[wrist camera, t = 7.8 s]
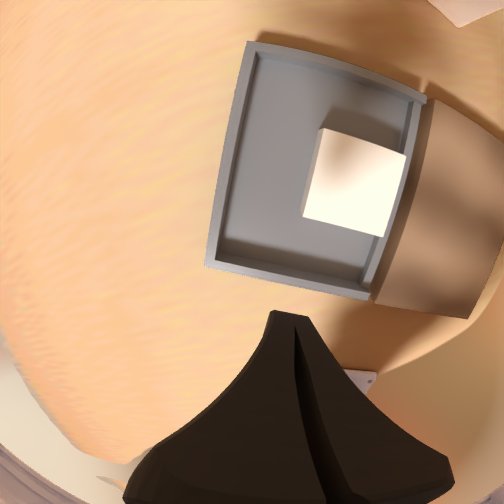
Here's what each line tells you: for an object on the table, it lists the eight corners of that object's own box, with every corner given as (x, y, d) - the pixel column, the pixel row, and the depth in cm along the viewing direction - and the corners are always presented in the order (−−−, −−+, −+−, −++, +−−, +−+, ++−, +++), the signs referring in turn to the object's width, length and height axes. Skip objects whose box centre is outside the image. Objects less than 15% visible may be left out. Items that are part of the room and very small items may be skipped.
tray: (361, 287, 19) (367, 300, 17) (210, 255, 19) (203, 266, 17) (414, 98, 13) (427, 95, 12) (250, 50, 13) (247, 40, 12)
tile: (372, 227, 17) (382, 237, 15) (299, 208, 17) (302, 216, 15) (392, 154, 15) (406, 155, 13) (318, 130, 15) (323, 128, 13)
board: (457, 306, 19) (467, 319, 17) (366, 289, 19) (374, 303, 17) (508, 156, 13) (523, 159, 11) (420, 101, 13) (435, 98, 12)
